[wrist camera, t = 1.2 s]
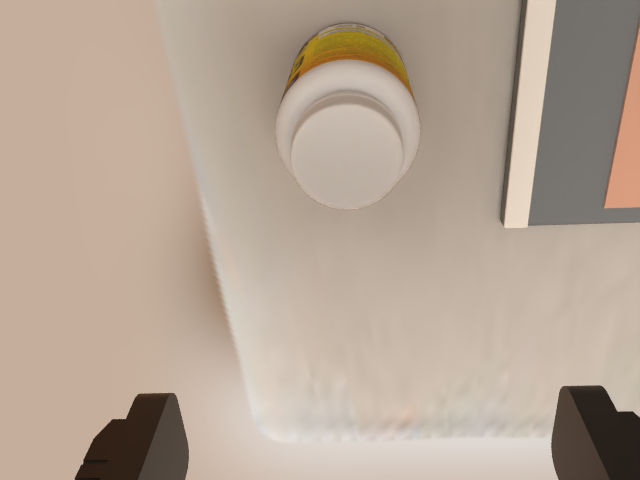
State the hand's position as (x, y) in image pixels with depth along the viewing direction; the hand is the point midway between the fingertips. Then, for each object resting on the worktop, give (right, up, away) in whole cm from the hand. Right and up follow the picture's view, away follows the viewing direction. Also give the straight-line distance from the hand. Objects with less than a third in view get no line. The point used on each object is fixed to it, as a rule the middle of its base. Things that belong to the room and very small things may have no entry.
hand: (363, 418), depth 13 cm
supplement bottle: (0, +12, +17) cm, 21 cm away
